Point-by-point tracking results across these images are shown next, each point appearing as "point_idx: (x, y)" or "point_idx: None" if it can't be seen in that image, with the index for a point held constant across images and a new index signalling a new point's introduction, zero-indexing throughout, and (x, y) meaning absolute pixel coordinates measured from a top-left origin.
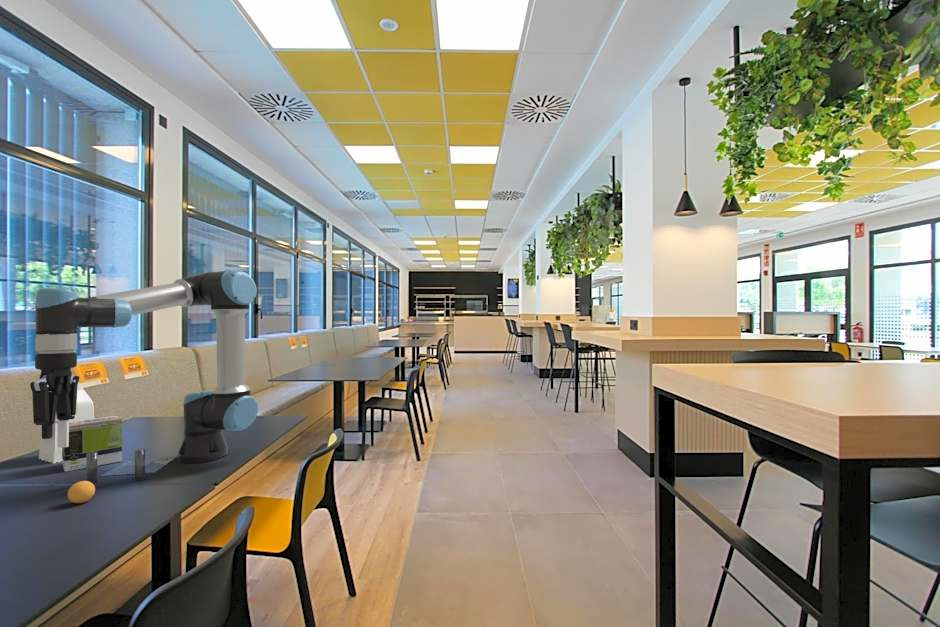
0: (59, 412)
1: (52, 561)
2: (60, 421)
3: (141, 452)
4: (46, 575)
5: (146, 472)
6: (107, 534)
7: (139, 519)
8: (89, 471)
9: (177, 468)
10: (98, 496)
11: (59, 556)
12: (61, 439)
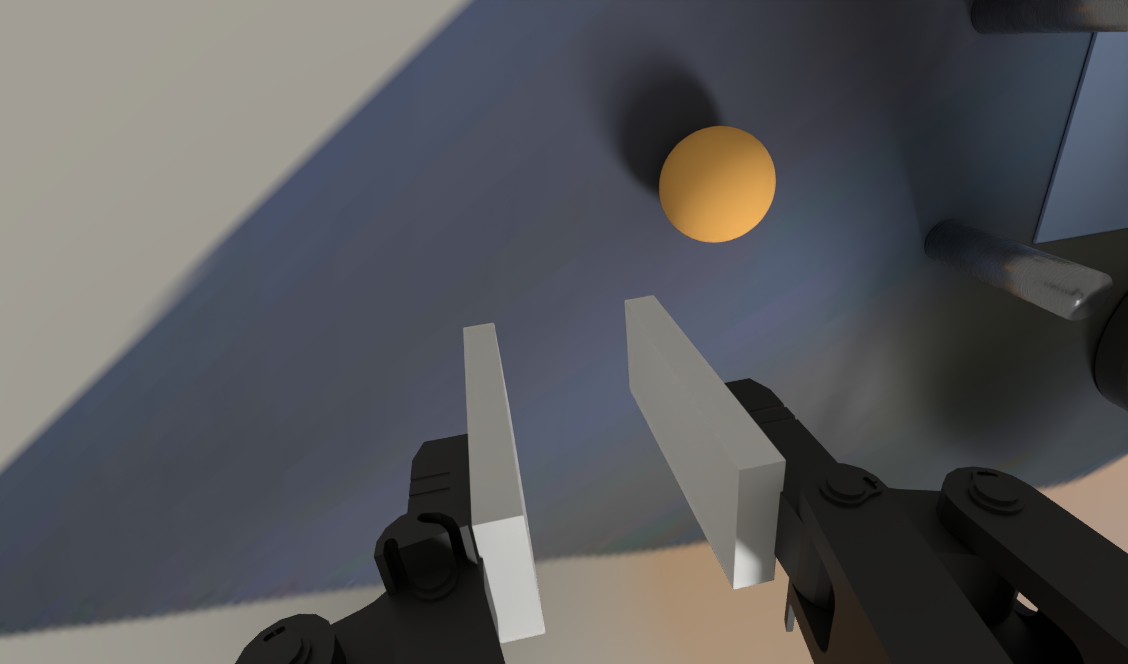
0: (842, 613)
1: (151, 488)
2: (734, 526)
3: (1053, 311)
4: (68, 538)
5: (1050, 205)
6: (358, 500)
7: None
8: (1041, 5)
9: None
10: None
11: (186, 481)
12: (649, 396)
